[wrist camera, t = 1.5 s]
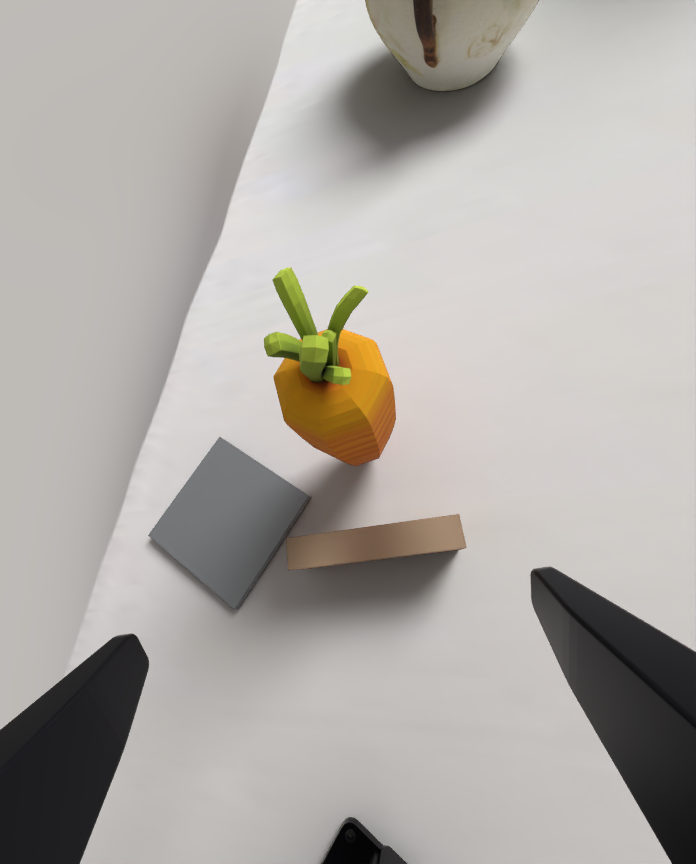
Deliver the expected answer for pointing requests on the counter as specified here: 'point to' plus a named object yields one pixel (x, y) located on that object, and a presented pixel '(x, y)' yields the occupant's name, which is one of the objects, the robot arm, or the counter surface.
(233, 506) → the charcoal mat
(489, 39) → the sugar bowl
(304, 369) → the carrot
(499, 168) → the counter surface
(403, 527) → the walnut block
